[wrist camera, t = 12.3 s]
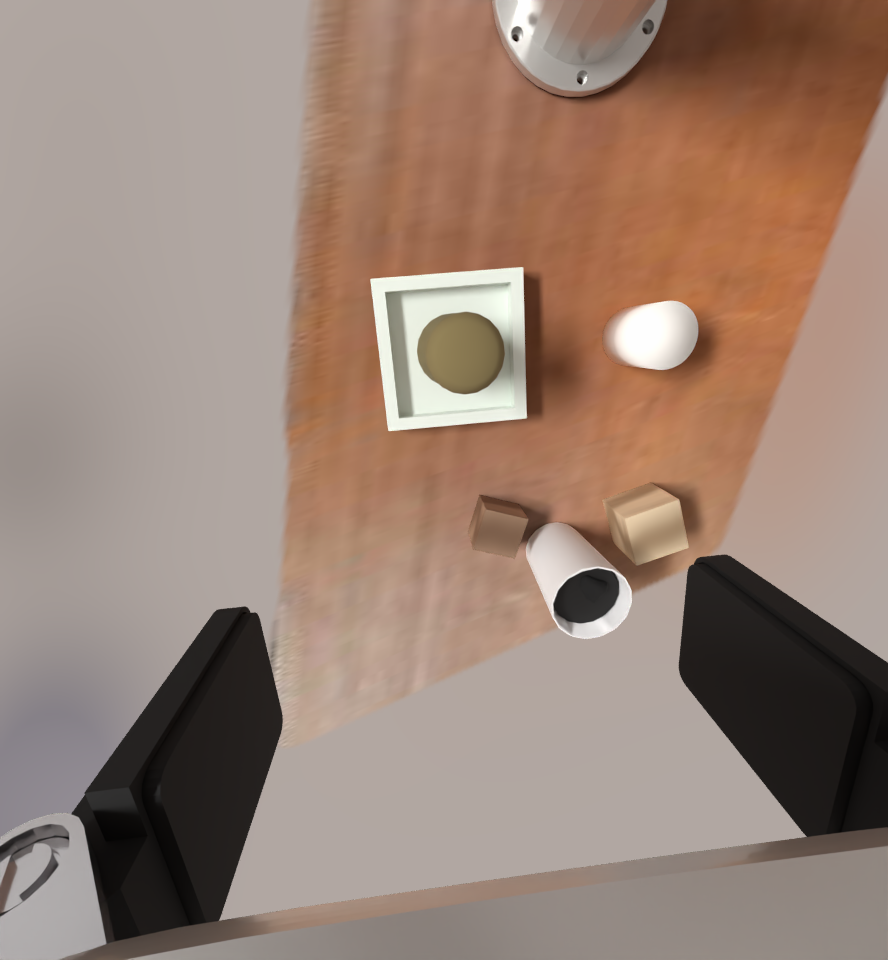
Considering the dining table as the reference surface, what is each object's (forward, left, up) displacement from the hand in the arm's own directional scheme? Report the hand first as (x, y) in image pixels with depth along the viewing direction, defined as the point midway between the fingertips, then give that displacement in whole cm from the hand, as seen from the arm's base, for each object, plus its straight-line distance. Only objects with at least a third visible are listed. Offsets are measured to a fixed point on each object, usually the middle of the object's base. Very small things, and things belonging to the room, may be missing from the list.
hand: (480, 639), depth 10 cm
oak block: (+12, +19, -32) cm, 40 cm away
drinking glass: (+15, +12, -32) cm, 38 cm away
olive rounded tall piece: (-5, +3, -32) cm, 32 cm away
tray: (-5, +2, -32) cm, 33 cm away
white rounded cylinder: (-5, +18, -32) cm, 38 cm away
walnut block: (+11, +5, -32) cm, 35 cm away
